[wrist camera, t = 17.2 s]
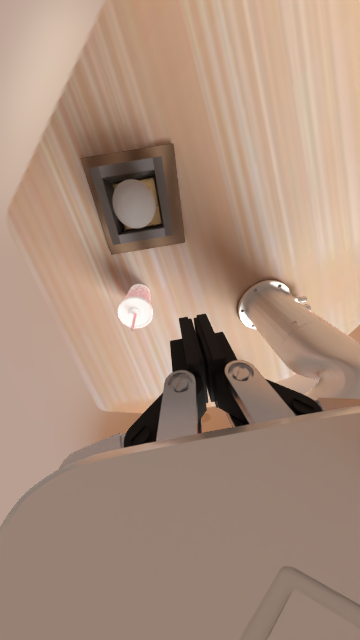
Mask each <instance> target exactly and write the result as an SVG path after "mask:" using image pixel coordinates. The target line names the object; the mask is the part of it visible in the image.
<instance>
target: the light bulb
mask: <svg viewBox="0 0 360 640" xmlns="http://www.w3.org/2000/svg"><path fill="white" fill-rule="evenodd" d="M113 208H114V211H115V214H116V215H117V217H118V219H119V220H120V221H121V222H122V223H123V224H125V225H126V226H128V227H131V228H142V227H145V226H146V225H148V224H149V223H150V222H151V221H152V219H153V217H154V215H155V210H156V204H155V199H154V196H153V194H152V192H151V190H150V189H149V188H148V187H147V186H146V185H145V184H144V183H142V182H140V181H138V180H134V179H128V180H125V181H123V182H121V183H120V184H119V185H118V186H117V187H116V189H115V191H114V194H113Z"/></svg>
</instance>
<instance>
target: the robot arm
mask: <svg viewBox="0 0 360 640" xmlns="http://www.w3.org/2000/svg"><path fill="white" fill-rule="evenodd" d="M306 301H307V298H306V297H305V296H303V297H299V298H295V297H294V296H292V295H291V292H290V290H289V288H288V287H287V286H286V285H285V284H283V283H282V282H280V281H276V280H265V281H261V282H259V283H257V284H255V285H253V286H252V287H250V288H249V289H248V290H247V291H246V292H245V293H244V295H243V296H242V298H241V300H240V302H239V305H238V315H239V318H240V319H241V321H242V322H243V323H244V324H245V325H246V326H247V327H249V328H253V329H257V330H258V331H259V333H260V334H261V335H262V336H263V338H264V339H265V340H266V341H267V343H268V344H269V345H270V346H271V347H272V349H273V350H274V351H275V352H276V354H277V355H278V356H279V357H280V358H281V360H282V361H283V362H284V363H285V365H286V366H287V367H288V368H289V369H290V370H292V371H293V372H295V373H297V374H299V375H301V376H304V377H307V378H312V379H316V380H320V381H319V382H318V383H317V384H316V385H315V386H314V387H312V389H311V390H309V391H308V392H307V393H306V394H304V395H303V394H301V393H298V392H296V391H294V390H291V389H289V388H286V387H284V386H281V385H279V384H276V383H274V382H272V381H269V380H267V379H265V378H264V377H263V376H262V375H261V374H260V372H259V371H258V370H257V369H256V368H255V367H254V366H253V365H252V364H251V363H249V362H247V361H243V360H237V358H236V356H235V354H234V352H233V351H232V349H231V347H230V345H229V343H228V341H227V339H226V337H225V335H224V333H223V332H219V333H214V331H213V329H212V326H211V324H210V322H209V320H208V318H207V315H206V314H201V315H197V318H194V325H195V329H194V326H193V323H192V319H188V317H184V318H179V322H180V328H181V334H182V339H179V340H173V341H170V347H171V359H172V370H173V373H171V374H170V375H169V376H168V377H167V378H166V380H165V383H164V390H163V393H162V394H161V395H160V396H159V398H158V399H157V400H156V401H155V402H154V403H153V404H152V405H151V406H150V407H149V408H148V409H147V410H146V411H145V412H144V413H143V414H142V415H141V416H140V418H139V419H138V420H137V421H136V422H135V423H134V424H133V425H132V426H131V427H130V428H129V430H128V431H127V433H125V434H123V435H120V433H119V434H116V435H114V436H111V437H109V438H107V439H104V440H102V441H99V442H97V443H95V444H92V445H90V446H88V447H85V448H83V449H80V450H78V451H76V452H74V453H73V454H71V455H69V456H68V457H67V458H66V459H65V460H64V462H63V463H62V465H61V466H60V468H59V470H57V471H55V472H54V473H52V474H50V475H49V476H47V477H46V478H44V479H43V480H41V481H40V482H38V483H37V484H36V485H35V486H33V487H32V488H31V489H30V490H28V492H26V493H25V494H24V495H23V496H22V497H21V498H20V499H19V501H18V502H17V503H16V504H15V505H14V507H13V508H12V509H11V511H10V512H9V514H8V515H7V517H6V518H5V520H4V521H3V523H2V524H1V526H0V640H360V343H359V342H358V341H356V340H354V339H353V338H351V337H350V336H348V335H346V334H345V333H343V332H342V331H340V330H339V329H337V328H336V327H334V326H333V325H331V324H330V323H328V322H327V321H325V320H324V319H322V318H321V317H319V316H318V315H316V314H315V313H313V312H312V311H310V310H311V308H310V306H309V305H308V304H305V305H301V304H300V303H305V302H306ZM207 389H208V392H209V396H210V400H211V402H214V401H215V404H216V407H219V408H220V409H222V410H224V411H225V412H226V415H227V418H228V420H229V422H230V424H231V426H232V428H227V429H221V430H215V431H210V432H204V433H202V423H201V417H202V416H203V415H204V413H205V412H206V403H208V395H207Z"/></svg>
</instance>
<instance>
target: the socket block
mask: <svg viewBox="0 0 360 640" xmlns="http://www.w3.org/2000/svg"><path fill="white" fill-rule="evenodd" d="M81 161H82V164H83V167H84V171H85V174H86V177H87V180H88V183H89V186H90V189H91V192H92V195H93V199H94V202H95V205H96V208H97V211H98V214H99V217H100V220H101V223H102V227H103V230H104V233H105V236H106V239H107V242H108V245H109V248H110V251H111V255H113V254H119V253H125V252H131V251H137V250H143V249H149V248H155V247H160V246H166V245H172V244H178V243H184V242H185V237H184V229H183V220H182V212H181V204H180V195H179V187H178V179H177V170H176V162H175V153H174V145H173V144H167V145H161V146H154V147H148V148H142V149H136V150H130V151H123V152H117V153H111V154H105V155H99V156H93V157H86V158H81ZM150 178H154V184H155V189H156V195H157V201H158V207H159V213H160V218H161V224H156V225H150V226H145V227H142V228H132V229H126V230H125V228H124V225H123V223H122V222H121V221H120V220H119V219H118V217H117V215H116V214H115V211H114V208H113V194H114V187H113V185H114V184H120V183H121V182H123V181H125V180H128V179H134V180H144V179H150Z"/></svg>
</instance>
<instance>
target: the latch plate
mask: <svg viewBox="0 0 360 640" xmlns="http://www.w3.org/2000/svg"><path fill="white" fill-rule="evenodd" d="M138 181H140V182H142V183H144V184H145V185H146V186H147V187H148V188H149V189H150V190H151V192H152V194H153V196H154V199H155V204H156V210H155V215H154V217H153V219H152V221H151V222H150V223H149V224H148V225H146V226H150V225H156V224H161V218H160V213H159V207H158V201H157V195H156V189H155V184H154V178H150V179H144V180H138ZM118 185H119V184H114V185H113V187H114V191H115V189H116V187H117V186H118ZM123 225H124V228H125V230H126V229H132V228H131V227H128V226H126V225H125V224H123Z"/></svg>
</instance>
